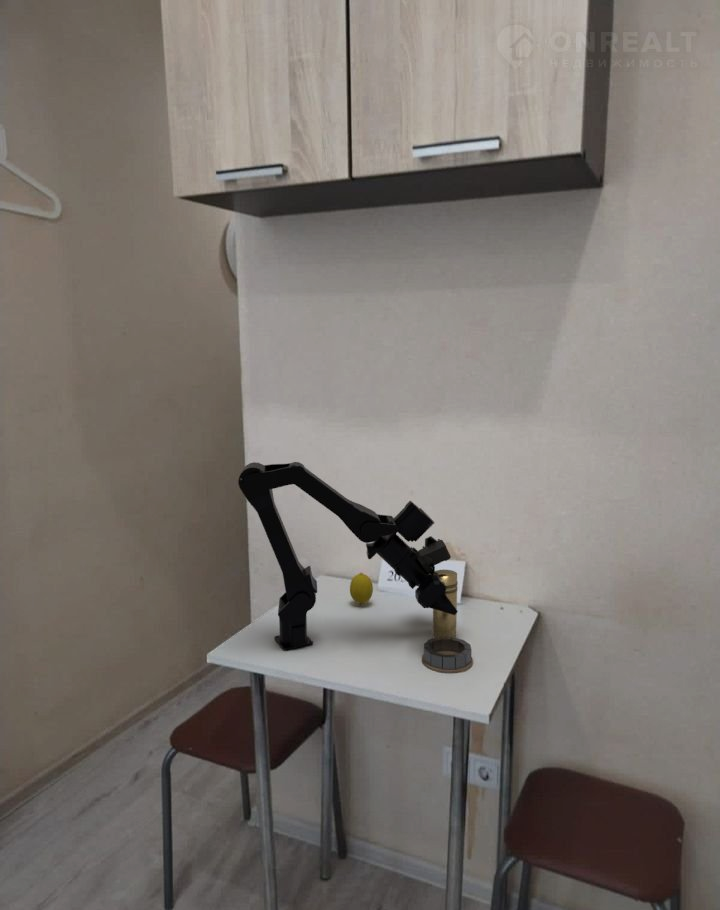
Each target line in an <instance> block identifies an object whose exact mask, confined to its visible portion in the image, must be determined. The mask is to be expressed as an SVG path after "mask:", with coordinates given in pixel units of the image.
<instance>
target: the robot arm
mask: <svg viewBox="0 0 720 910" xmlns="http://www.w3.org/2000/svg"><path fill="white" fill-rule="evenodd" d="M237 484H238V487H239V490H240V492H242V495H244V497H245V499H246V500H247V502H248V503H249V504H250V505H251V506H252V508H253V509H254V510H255V512H256V514H257V515H258V518H259V520H260V522H261V524H262V526H263V530H264V533H265V534H266V537H267V539H268V541H269V544H270V547H271V549H272V552H273V553H274V556H275V558H276V560H277V563H278V565H279V567H280V568H279V569H280V570H281V573H282V578H283V585H284V589H285V592H284V593H283V594H282V595H281V596H280V597H279V599H278V600H279V601H278V609H277V611H278V612H277V616H278V619H279V621H278V623H279V626H278V627H279V635H275V636H274V637H273V638H274V641H276V643H277V644H278V645H279V646H280V648H281V649H282V650H283V651H288V650H293V649H297V648H298V649H299V648H302V647H307V646H312V645H314V641H313V640H312V639H311V638H310V637H309V635H308V625H307V623H308V620H307V614H308V612H309V611H311V610H312V609H313V608H314V606H315V604H316V602H317V598H316V597H317V594H318V581H317V580H316V579H315V577H314V576H313V572H312V568H311V565H308V566H306V567H304V566H303V565H302V564H301V562H300V561H299V559H298V556H297V554H296V551H295V549H294V546H293V544H292V541H291V539H290V537H289V535H288V532H287V530H286V528H285V525H284V522H283V520H282V518H281V515H280V513H279V510H278V508H277V506H276V503H275V497H274V493H273V492H274V491H273V489H274V490H275V489H278V488H282V487H286V486H289V485H294V486H296V487H297V488H299V489H300V490H301V491H303V492H304V493H306V494H307V495H308V496H310V497H311V498H312V499H314V500H315V501H316V502H317V503H319V504H321V505H322V506H324V507H325V508H326V509H328V510H329V511H331V512H332V513H333V514H335V515H336V516H337V517H338V518H339V519H340V520H341V522H343V524H344V525H345V526H346V527H347V528H348V529H349V530H350V532H351V533H352V534H353V535H354V536H355V537H356V538H357V539H358V540H359V541H361V542H363V543H365V547H366V557H367V559H368V560H371V559H373V557H375V555H376V554H377V555H378V556H379V557H380V558H381V559H382V560H384V562H386V564H388V565H389V567H391V568H392V569H393V571H394V572H395V574H396V575H397V576H398V577H402V579H404V580H405V581H406V582H407V583H408V586H409V587H410V588H411V590H413V589H415V588H416V587H417V588H416V589H415V591H414V593H415V594H414V595H415V599H416V602H417V603H418V604H419V605H420V606H421V607H422V608H424V609H432V610H433V609H436V610H439V611H442V612H446V613H449V614H452V615H455V614H456V613H458V609H456V608H455V607H454V605H453V604H452V603H451V601H450V600H449V598H448V597H447V596H446V589H447V588H446V585H445V583H444V582H443V581H442V580H441V579H440V578H439V577H438V576H437V575H433V573H434V572H435V571H436V565H438V564H440V563H443V562H447V561H449V560H450V559H451V558H452V556H451V554H450V551H449V550H448V548H447V545H446V543H445V542H444V540H443V539H440V538H438V539H436V538H434V537H433V536H431V535H430V536H428V537H425V538H424V545H423V546H422V548H420V549H419V550H418V549H417V548H415V547H414V546H413V547H412V546H411V547H410V546H409V545H408V544H407V543H406V542H412V543H414V542H417V541H418V540H419V539H420V538H422V536H423V535H424V534H425V533H426V532H427V531H428V530H429V529H430V528H431V527H433V525H434V524H435V521H434V520H433V519H432V518H431V516H430V515H428V514H427V513H426V512H425V510H423V509H422V508H421V507H419V505H416V504H415V503H414V502H413V501H412V500H409V501H408V502H407V503H406V504H405V505H404V507H403V508H402V509H401V510H400V511H399V513H397V514H396V515H395V517H393V515H387V514H386V515H385V514H378V513H376V511H374V510H372V509H371V508H368V507H367V506H365V505H362V504H360V503H357V502H354V501H352V500H350V499H348V498H346V496H344V495H343V494H341V493H340V492H339V491H338V490H336V489H335V488H333V487H332V486H330V484H328V483H327V482H325V481H324V480H322V479H321V478H319V477H318V476H317V475H316V474H314V473H313V472H312V471H311V470H309V469H308V468H306V466H305V464H303V463H301V462H299V461H293V462H289V463H272V464H271V463H270V464H265V465H264V464H262V463H260V462H254V461H253V462H249V463H248V464H245V466H244V467H243V469H242V470H241V473H240V475H239V477H238V483H237ZM397 533H398V534H397ZM399 535H400V536H401V537H402V538H403V539H405V541H406V542H405V541H404V540H403V539H402V538H401V537H400V536H399Z"/></svg>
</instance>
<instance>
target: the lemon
mask: <svg viewBox="0 0 720 910" xmlns="http://www.w3.org/2000/svg"><path fill="white" fill-rule="evenodd" d="M373 592H374V586H373V582H372V580H371V577H369V576H368V575H367V574H365V573H363V572H359V574H356V575H354V576H353V577H352V579H351V581H350V584H349V593H350V597H351V598H352V600H353V601H354V602H356V603H358V604H359V605H360V606H361V605H362V604H363V605H364V603H367V602H368V601H369V600H371V598H372V596H373Z"/></svg>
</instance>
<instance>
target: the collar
mask: <svg viewBox="0 0 720 910" xmlns="http://www.w3.org/2000/svg"><path fill="white" fill-rule="evenodd" d="M439 651H452V652H456V653H458V654H454V655H445V654H440V653H437V652H439ZM423 654H424V661H425V662H426V663H427V664H428V665H430V666H432V667H435V668H438V669H443V670H457V669H461V668H464V667H467V666H468V665H469V664H470V663H471V657H472V647H471V644H470V643H469V642H468V641H466V640H464V639H462V638H458V637H456V638H455V637H436V638H434V637H433V638H432V637H431V638H429V639H427V640H426V641H425V642H424V643H423Z"/></svg>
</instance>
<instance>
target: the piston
mask: <svg viewBox="0 0 720 910" xmlns="http://www.w3.org/2000/svg"><path fill="white" fill-rule="evenodd" d="M433 575H437V576H438V577H439V578H440V579H441V580H442V581H443V582H444V583H445V585H446V588H447V589H446V596H447V597H448V598H449V600H450V601H451V603H452V604H453V605H454V607H455V608H456V609H457V607H458V605H457V604H458V584H459V583H458V572H456V570H455V571H454V570H451V569H437V570H435V572H434V573H433ZM457 610H458V609H457ZM457 613H458V612H457ZM457 613H456V614H455V615H452V614H449V613H446V612H442V611H439V610H436V609H432V637H433V638H436V637H455V638H457V615H458V614H457Z"/></svg>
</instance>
